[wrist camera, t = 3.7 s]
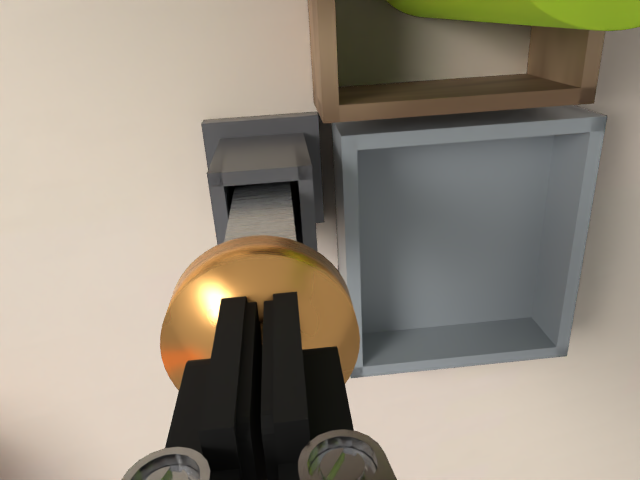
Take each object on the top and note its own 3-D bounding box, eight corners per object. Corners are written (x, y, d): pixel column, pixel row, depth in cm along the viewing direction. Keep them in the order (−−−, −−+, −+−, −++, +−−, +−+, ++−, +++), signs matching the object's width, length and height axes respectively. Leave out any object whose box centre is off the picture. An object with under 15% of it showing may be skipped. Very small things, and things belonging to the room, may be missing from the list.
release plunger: (208, 132, 22) (142, 268, 11) (312, 124, 22) (357, 249, 11) (222, 228, 24) (178, 433, 12) (318, 220, 24) (362, 414, 13)
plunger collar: (203, 120, 23) (182, 155, 18) (316, 111, 23) (331, 144, 18) (218, 224, 25) (204, 285, 20) (322, 216, 25) (337, 273, 20)
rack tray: (331, 118, 24) (341, 136, 20) (562, 101, 24) (607, 115, 21) (341, 336, 28) (350, 378, 25) (534, 317, 29) (566, 356, 26)
